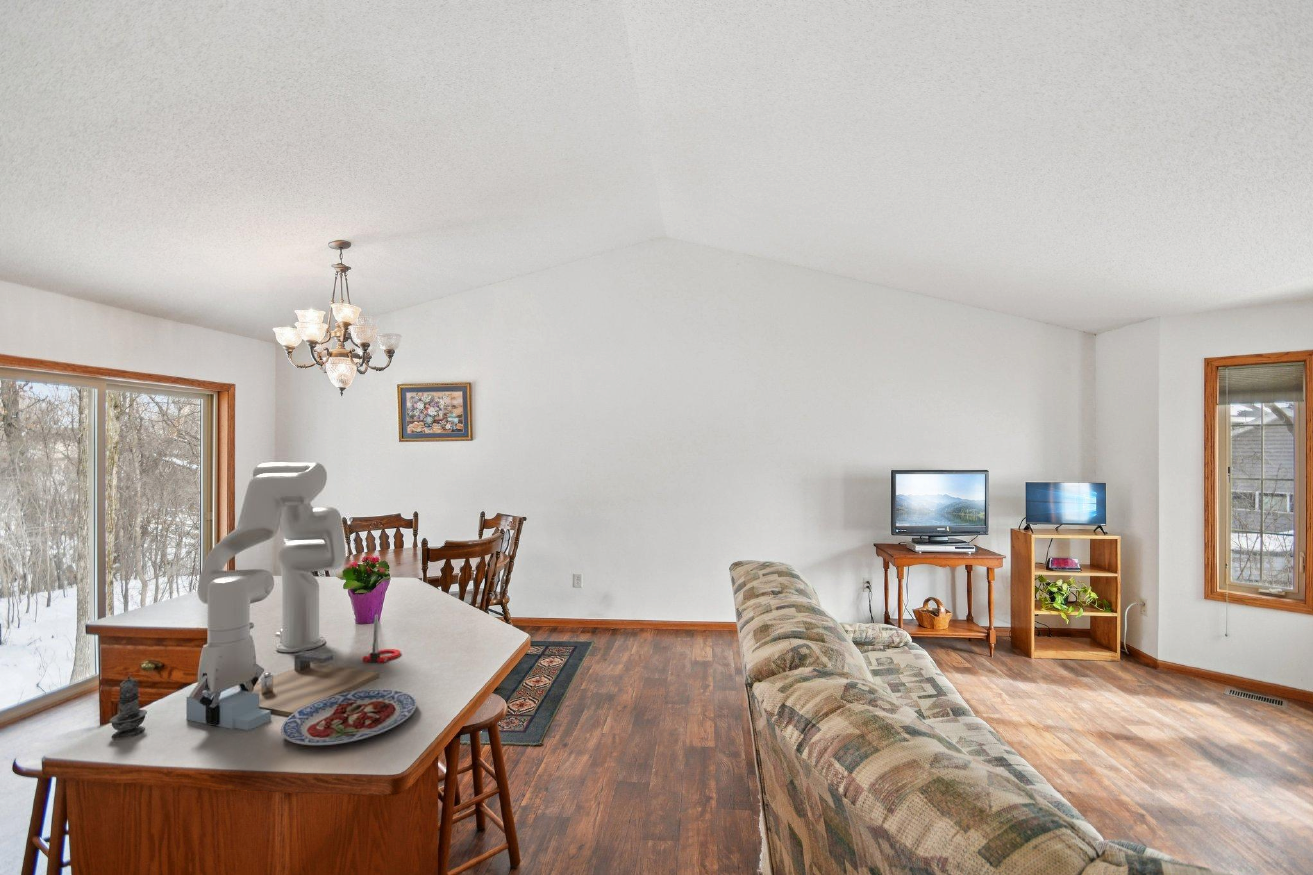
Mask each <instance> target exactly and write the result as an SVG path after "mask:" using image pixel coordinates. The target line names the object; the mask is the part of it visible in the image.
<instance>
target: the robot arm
mask: <svg viewBox="0 0 1313 875" xmlns="http://www.w3.org/2000/svg"><path fill="white" fill-rule="evenodd" d="M327 476H328V474H327V470H326V467H325V466H324V465H323V464H321V463H320V462H309V461H308V462H288V461H286V462H264V463H261V464H258V465H257V466H255V467H254V468H253V471H252V478H251V479H250V481H249V482H248V485H247V489H246V492H245V496H244V500H243V504H242V506H241V510H240V514H239V518H238V522H237V525H236V527H235V529H233V530H232V531H230V533H228V534H226V535H225V536H224V537H223V538H221V539H220V541H219V542H217V543H216V545H215V546H214V547H213V548H211V550H210V551H209V553H208V554H207V556H206V558H205V559H204V562H203V565H202V569H201V572H200V575H199V579H198V583H197V597H198V600H199V601H200V602H201V603H203V604H205V605H207V640H206V641H207V643H205V644H204V645H203V646H202V649H201V653H200V659H199V663H198V671H197V685H195V687H194V688H193V690H192V691H191V693H190V694H189V695H190V696H189V695H188V696H189V697H190V698H192V699H193V700H195V701H197V702H199V703H200V704H202V705H203V706H206V723H207V724H206V723H205V724H206V725H210V726H216V725H218V724H219V723H220V707H219V706H218V705H217V703H218V700H219V697H220V694H221V692H222V691H224V690H227V689H233V688H235V687H238V688H239V690H241V691H247V692H253V690H254V686H255V685H256V683H259V680H260V679H261V677H262V675H264V673H265V668H264V667H262V666H261V665H259V664H258V663H257V653H256V646H255V642H254V639H253V636H252V634H251V630H252V629H254V627H255V624H254V623H253V622H251V619H250V618H251V616H250V615H251V613H250V608H251V606H250V605H251V604H254V603H258V602H262V601H263V600H265V599H267V598H268V597H269V596H270V594H271V593H272V592H273V590H274V587H275V579H274V576H273V574H272V573H271V572H270V571H268V570H266V569H262V568H254V569H233V570H224V568H225V566H226V565H227V564H228V562H229V561H230V560H231V559H232V558H233V557H235V556H236V555H238V554H239V553H241V552H244V551H245V550H247V549H250V548H252V547H255V546H257V545H259V544H261V543H264V542H267V541H269V540H271V539H273V538H274V537H275V536H276V535H277V533H278V532H279V531H280V534H281V536H282V537H283V538H284V539H285V540H289V541H288V542H285V543H284V544H282V545H281V546H280V547H279V550H278V563H279V569H280V574H281V583H282V584H281V585H282V587H281V588H282V589H281V590H282V592H281V594H282V595H281V597H282V598H281V600H282V601H281V602H282V605H281V606H282V608H281V609H282V615H281V616H282V617H281V618H282V620H281V622H282V623H281V624H282V625H281V626H282V628H281V629H280V630H279V631H278V632H276V634H275V635H274V636H275V638H277V639H278V638H280V642H278V643H277V644H276V646H275V649H276V651H278V652H280V653H297V652H298V653H300V652H303V651H310V650H313V649H316V648H319V647H320V646H323V645H324V644H325V643H326V638H325V636H323V635H320V584H319V581H318V579H317V578H316V577H315V576H314V575H313V573H312V572H322V571H334V570H335V571H336V570H339V569H340V568H342V567H343V566H344V564H345V562H346V554H347V552H346V544H345V543H346V542H345V535H344V527H343V526H344V525H343V521H342V520H343V519H342V516H341V513H340V512H339V510H338V509H337V508H335V507H332V506H331V507H329V506H319V507H318V506H317V507H316V506H312V503H311V502H313V501H314V500H315V499H316V498H317V497H318V495H319V494H320V493H321V492H322V491H323V490H324V488H325V486H326V483H327V480H328V478H327ZM206 690H207V692H206V695H205V696H204V695H202V692H203V691H206ZM212 695H213V697H212ZM211 698H212V699H211ZM216 727H217V726H216Z"/></svg>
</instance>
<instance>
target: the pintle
mask: <svg viewBox="0 0 1313 875" xmlns="http://www.w3.org/2000/svg"><path fill="white" fill-rule="evenodd" d="M271 673H272V672H270V671H269V672H263V676H260V682H261V695H268V694H271V693H273V677H274V675H273V674H271Z"/></svg>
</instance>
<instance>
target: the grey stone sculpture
mask: <svg viewBox="0 0 1313 875" xmlns="http://www.w3.org/2000/svg"><path fill="white" fill-rule="evenodd" d="M138 684H139V683H138V680H137V679H135V678H131V675H130V674H129V675H127V677H126V679H125V680H123V681H121V683H119V697H118V698H117V700H116V701H117V702H118V712H117V714H116V715H114V716H112V717H111V718H110V719H109V723H111V726H112V728H113V729H114V730H116V732H114V733H113V734H112V735H111V739H112V740H125V739H128V738H129V739H130V738H133V737H136V736H138V735H140V734H143V733H144V732H145V731H146V727H145V726H141V725H142V724H143V722H144V721H145V718H146V715H147V714H148V710H147V709H140V706H139V698H140V696H141V694H139V689H138V688H139V685H138Z"/></svg>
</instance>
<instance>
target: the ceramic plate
mask: <svg viewBox="0 0 1313 875" xmlns="http://www.w3.org/2000/svg"><path fill="white" fill-rule="evenodd" d="M416 708H417V700H416V698H415V697H414V696H413V695H411V694H409V693H407V692H405V691H401V690H398V689H387V688H385V689H384V688H383V689H382V688H378V689H377V688H375V689H373V688H372V689H362V690H354V691H349V692H346V693H344V694H339V695H335V696H332V697H328V698H325V699H322V700H319V701H317V702H314V703H312V704H309V705H307V706H305V707H303V708H301V709H300V710H298V711H296V712H295V713H293V714H292V715H291V716H287V718H286V719H285V720H284V721H283V723H282V724H281V727H280V733H281V735H282V737H283V738H284V739H285V740H287V741H289V742H291V743H294V744H298V745H303V746H304V745H305V746H331V745H338V744H345V743H350V742H355V741H359V740H363V739H367V738H370V737H373V736H375V735H378V734H382V733H384V732H386V731H389V730H390V729H393V728H395V727H396V726H398V725H400V724H401V723H403V722H405V720H407V719H408V718H410V716H412V714H414V712H415V710H416Z"/></svg>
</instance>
